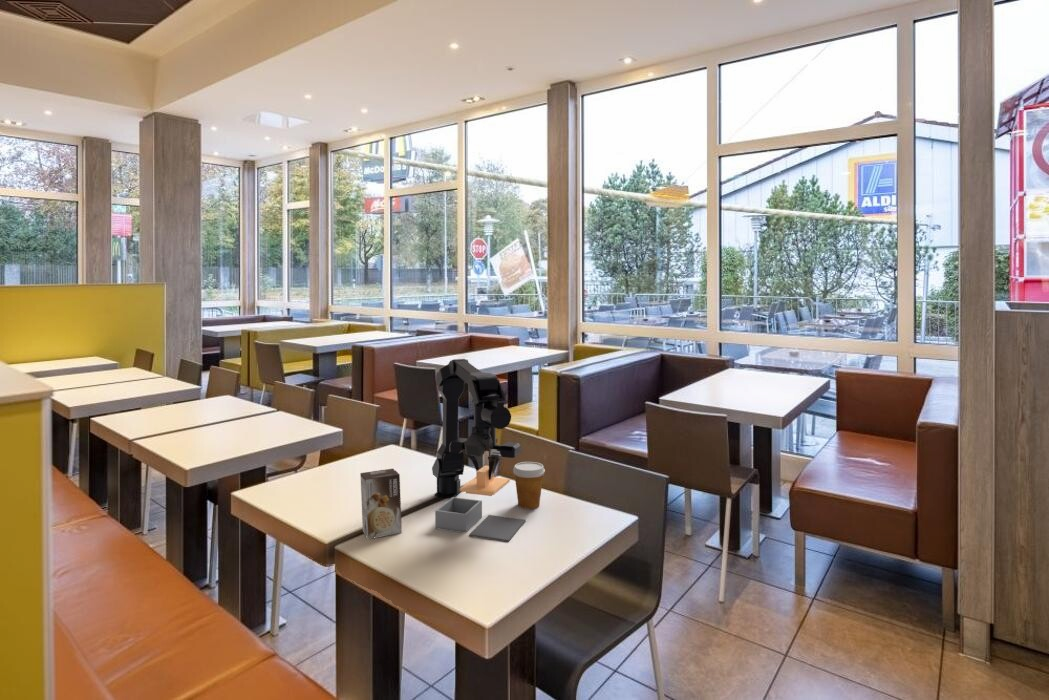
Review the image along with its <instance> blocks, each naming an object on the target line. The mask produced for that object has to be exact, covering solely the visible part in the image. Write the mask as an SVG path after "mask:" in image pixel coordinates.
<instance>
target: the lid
mask: <svg viewBox="0 0 1049 700" xmlns="http://www.w3.org/2000/svg"><path fill="white" fill-rule="evenodd" d="M475 471H476V470H475ZM475 475H476V476H475V477H474V478H472V479H470V480H469V481H468V482H467V483H465V484H463V485H461V486H460V491H461V492H465V494H471V495H477V496H488V497H492V496H495V495H496V494H497V493H498V492H499V491H500V490H502V489H503V488H504V487H505V486H507V485H508V484H509V483H511V482H510V481H511V480H510V478H505V477H495V473H494V474H493V477H492V479H491V480H489V465H483V467H482V468H481V469H479V470H478V471H476V474H475Z"/></svg>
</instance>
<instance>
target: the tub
mask: <svg viewBox="0 0 1049 700" xmlns="http://www.w3.org/2000/svg"><path fill="white" fill-rule="evenodd" d="M434 514H435V515H434V516H435V517H434V518H435V522H434V523H435V525H434V526H435V527H434V528H435V529H436V530H437V529H438V530H443V531H450V532H457V533H465V534H467V533H469V531H470V530H471V529H472V528H473V527H474V526H475V525H476V524H477V523H478V522H480V520H482V518H483V500H479V499H473V498H464V497H463V498H462V497H457V496H455V497H452V498H449V499H448V500H447V501H446V502H445V503H443V504H442V505H440V506H439V507H438V508H437V509H436V510H434Z"/></svg>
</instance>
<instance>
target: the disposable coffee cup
mask: <svg viewBox="0 0 1049 700" xmlns="http://www.w3.org/2000/svg"><path fill="white" fill-rule="evenodd" d="M512 472H513V474H514V480H515V487H516V489H515V490H516V496H517V502H518V503H517V504H518V507H519V508H521V509H525V510H533V509H537V508H539V507H540V503H541V494H542V489H543V488H542V487H543V481H544V475H545V472H546V470H545V468H544V465H543V463H540V462H535V461H521V462H518V463H516V464H515V465H514V467H513V469H512Z"/></svg>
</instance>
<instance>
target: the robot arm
mask: <svg viewBox="0 0 1049 700" xmlns="http://www.w3.org/2000/svg"><path fill="white" fill-rule="evenodd" d="M435 382H436V385H437V386H436V387H437V391H438V392H439V394H440V396H441V397H442V439H441V440H442V443H441V445H440V447H439V448H438V450H437V452H436V459H435V460H434V462H433V465H432V467H431V471H432V475H433V476H434V477H435V478H436V492H435V493H434V496H435V497H436V496H437V497H443V498H444V497H445V498H449V499H451V498H452V497H457V495H459V494H460V493H462V491H460V488H461V478H460V475H461V476H462V475H464V471H465V464H466V463H465V461H466V460H465V458H464V457H467V458H468V459H470V460H471V462H472V464H473V465H474V468H475V469H474V470H475V471H478V470H479V469H481V468H482V467H484V465H483V464H484V455H485V452H490V453H491V454H490V455H489V456H488V457H487V460H488V466H489V480H491V479H492V477H493V474H494V475H495V471H496V469H497V466H498V465H499V462H500V460H501V459H502V458H508V459H510V458H511V459H514V458H516V457H517V456H518V455H521V453H522V445H521V444H520V443H519V442H517V441H516V442H513V441H506V442H504V443H502V444H498V438H497V436H496V433H497V431H496V430H497V429H498V430H503V429H506V428H507V427H508V426H509V425H510V423H511V421H512V414H511V411H510V409H508V407H505V402H506V398H505V395H506V394H505V391H504V389H503V387H502V385H501V382H500V380H499V378H498V376H497V375H496V374H494V373H491V372H485V371H483V372H482V371H481V370H479V369H478V368H477V367H475V366H474V365H473V364H472V363H470V362H469V360H468V359H466V358H454V359H453V358H452V360H450V361H449V362H448V364H446V365H444V366H443V367H441V368H440V369H439V370H438V372H437V374H436V376H435ZM465 384H467V385H468V392H469V393H470V394H471V395H470V396H471V397H472V400H471V403H473V426H472V427H471V433H470V435H469V436H468V438H464V437H459V402H460V401H459V399H460V398H461V396H462V395H463V393H464V391H465ZM463 450H465V454H464V452H463Z"/></svg>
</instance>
